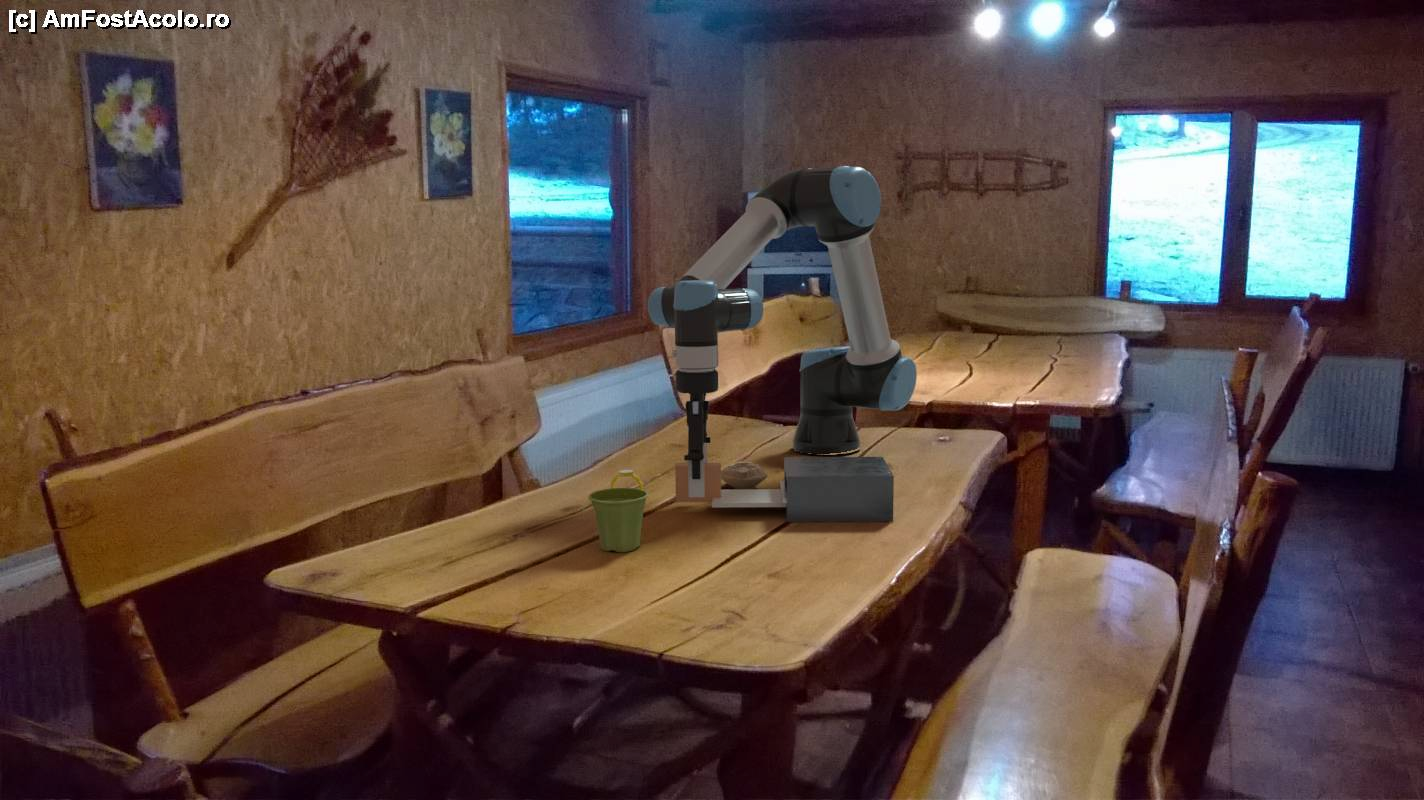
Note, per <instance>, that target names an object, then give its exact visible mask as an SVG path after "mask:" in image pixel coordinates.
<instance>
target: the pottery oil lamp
mask: <svg viewBox="0 0 1424 800" xmlns="http://www.w3.org/2000/svg"><path fill="white" fill-rule="evenodd" d="M767 478H768V474H767V473H766V471H765V470H764V469H763V468H762V467H761V466H759V465H758V464H757V463H753V462H752V461H747V460H746V461H743V460H742V461H740V460H739V461H737V462H734V463H731V464H729V465H728V466H727V467H725V468H724V469H723V470H721V481H723V482H724V483H726V484H727V485H729V486H730V487H732V488H733V490H739V489H756V486H758V485H759V484H761V483H762V482H763V481H764V480H766V479H767Z"/></svg>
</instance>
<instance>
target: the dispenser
mask: <svg viewBox="0 0 1424 800" xmlns="http://www.w3.org/2000/svg"><path fill="white" fill-rule="evenodd" d="M783 461H784V462H783V468H784V469H783V471H784V472H783V475H784V476H783V480H779V487H780V488H779V489H781V496H782V503H787V507H784V508H785V515H786V521H787V523H861V522H862V523H885V522H884V521H893V522H894V496H895V495H894V491H895V490H894V487H895V486H894V484H895V483H894V482H895V480H894V478H895V476H894V474H893V472H892V471H891V468H890V467H889V466H888V465H889V464H887V462H886V460H885V459H884V457H883V456H817V457H816V456H814V457H813V456H812V457H811V456H801V457H800V456H798V457H797V456H795V457H794V456H792V457H786V456H785V457H783ZM786 489H787V494H786ZM880 521H881V522H880Z"/></svg>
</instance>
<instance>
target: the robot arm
mask: <svg viewBox="0 0 1424 800" xmlns="http://www.w3.org/2000/svg"><path fill="white" fill-rule="evenodd" d="M879 187H880V186H879V185H878V182H877V180H876V179H875V177H874V176H873V175H872V174H871V172H870V171H868V170H866V169H865V168H863V167H860V166H848V165H839V166H831V167H830V166H829V167H828V166H827V167H816V168H798V169H794V170H791V171H789V172H786V173H784V174H782V175H780V176H779V177H777V178H776V179H774V180H773V181H771V182H769V184H767V185H766V186H764V187H763V188H762V189H761V190H759V192H757V193H756V194H755V195H754V196H753V197H752V198H751V199H750V200H749V201H748V202H747V204H746V206H745V212H744V213H743V214H742V215H741V216H740V217H739V218H738V219H737V220H736V221H735V222H734V224H733V225H731V227H729V228H728V230H726V231H725V233H723V235H721V237H720V238H718V240H717V241H716V242H715V243H714V244H713V245H712V246H711V247H710V248H709V249H708V250H706V252H705V253H704V254H703V255H702V256H701V257H700V258H699V259H698V260H697V261H695V263H693V265H692V266H691V267H690V268H689V270H687V271H686V272H685V273H684V274H683V276H682V277H680V278H679V279H678V280H677V281H676V282H675V283H674V284H672V286H669V285H665V286H663V287H662V286H661V287H657V288H655V289H654V290H652V292H651V294H650V296H649V298H648V300H647V313H648V315H649V317H650V319H651V321H652V322H653V323H654V324H655V325H657V326H661V327H668V328H672V329H674V349H675V350H672V351H671V355H672V356H673V357H675V359H674V362H675V366H674V367H676V368H677V370H676V372H674V373H675V376H674V377H675V379H674V380H675V382H674V383H675V391H676V392H678V393H681V394H689V400H686V401H685V414H686V426H687V427H688V431H687V432H688V435H687V436H688V437H687V439H688V440H687V441H688V442H687V445H688V446H687V448H688V451H687V454H685V455H683V457H684V458H683V459H684V460H683V461H687V463H688V478H689V497H705V482H704V463H708V444H710V443H711V437H710V436H709V437H708V431H707V420H708V416H709V415H708V414H709V410H710V409H709V406H710V405H709V403H710V402H709V400H706V396H707V394H712V393H715V392H717V391H718V390H719V371H718V370H717V369H716V368H717V367H719V344H718V340H719V339H718V338H719V337H718V335H719V333H726V332H735V331H737V332H738V331H741V332H743V331H745V330H749V329H752V328H755V327H756V326H757V325H759V323H760V322H761V320H762V319H763V316H764V303H763V300H762V297H761V296H760V294H759V293H758V292H757V291H756V290H754V289H751V288H743V287H737V288H728V286H729V285H730V284H731V283H732V282H733V281H734V279H736V277H737V276H739V274H740V273H742V272H743V270H744V269H745V268H746V267H747V266H748V265H749V264H750V263H751V261H753V260H754V258H755V257H756V256H757V255H758V254H759V253H761V251H762V250H763V249H764V248H765V247H766V246H767V245H768V244H769V243H770V242H771V241H772V240H773V239H774V240H775V239H778V238H781V237H782V236H784V234H785V233H786V232H787V231H789V230H791V229H794V228H799V227H814V228H815V231H816V232H815V233H816V236H817V238H818V241H819V242H820V243H821V244H823V245H825V246H827V248H828V254H829V258H830V262H831V266H832V271H833V275H834V280H835V285H836V288H837V292H838V293H837V294H838V296H839V297H838V298H839V301H840V307H841V310H842V315H843V319H844V323H845V328H846V331H847V336H848V340H849V343H850V344H849V346H848V345H846V346H833V347H826V348H818V349H810V350H806V351H805V352H803V353H802V355H801V357H800V367H799V373H800V374H799V376H800V379H799V381H800V385H799V386H800V387H799V389H800V414H799V415H800V416H799V420H798V423H797V427H796V429H795V432H794V436H793V438H792V450H793V449H794V450H796V451H798V452H797V453H799V452H802V453H801V454H803V453H811V454H830V453H841V452H847V451H851V450H855V449H857V448H858V447H860V448H861V438H860V435H859V433H858V429H857V426H856V423H855V421H854V417H853V416H854V415H853V407H854V408H863V409H872V410H873V409H874V410H880V411H882V412H885V411H893V412H894V411H896V412H897V411H899V410H902V409H903V408H905V407H906V406H907V405H908V403H909V402H910V400H911V398H912V397H913V394H914V391H915V388H916V385H917V374H918V373H917V365H916V363H915V361H914V360H913V359H911V358H910V357H908V356H903V355H902V350H901V346H900V344H899V342H898V341H896V340H894V339H893V338H891V333H890V328H889V324H888V320H887V315H886V310H885V306H884V301H883V296H882V291H881V287H880V283H879V281H880V280H879V277H878V273H877V268H876V263H875V258H874V254H873V249H872V245H871V239H870V235H871V234H872V232H873V230H874V229H875V222H876V221H877V220H878V218H879V216H880V214H881V207H880V206H881V205H882V196H881V190H880V188H879ZM794 450H793V451H794ZM796 451H795V452H796Z"/></svg>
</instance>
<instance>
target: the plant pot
mask: <svg viewBox="0 0 1424 800" xmlns="http://www.w3.org/2000/svg"><path fill="white" fill-rule="evenodd" d="M648 497H649V491H646V490H642V489H639V488H636V487H615V488H611V487H610V488H604V489H600V490H599V489H598V490H596V491H592V492H591V493H590V494H588V499H589V501H590V502H591V505H592V508H593V509H594V513H595V519H596V527H597V531H598V536H599V542H600V547H601V549H602V550H604V551H605V552H611V551H614V552H617V553H625V552H632V551H635V550H636V549H637V548H639V547H640V546H641V538H642V525H643V518H644V507H645V506H646V501H647V498H648Z"/></svg>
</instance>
